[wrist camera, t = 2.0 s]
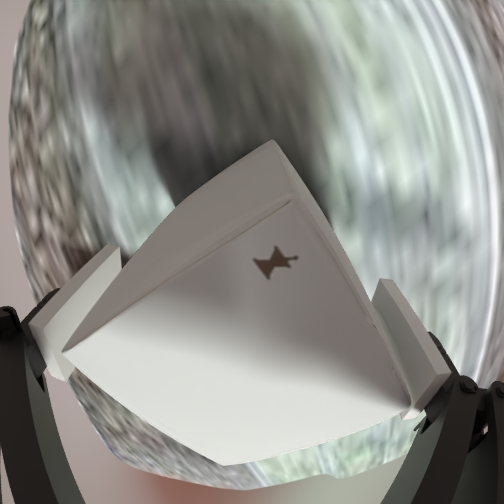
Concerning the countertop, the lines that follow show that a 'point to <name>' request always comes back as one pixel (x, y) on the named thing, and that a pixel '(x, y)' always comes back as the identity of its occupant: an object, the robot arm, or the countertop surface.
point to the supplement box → (243, 323)
